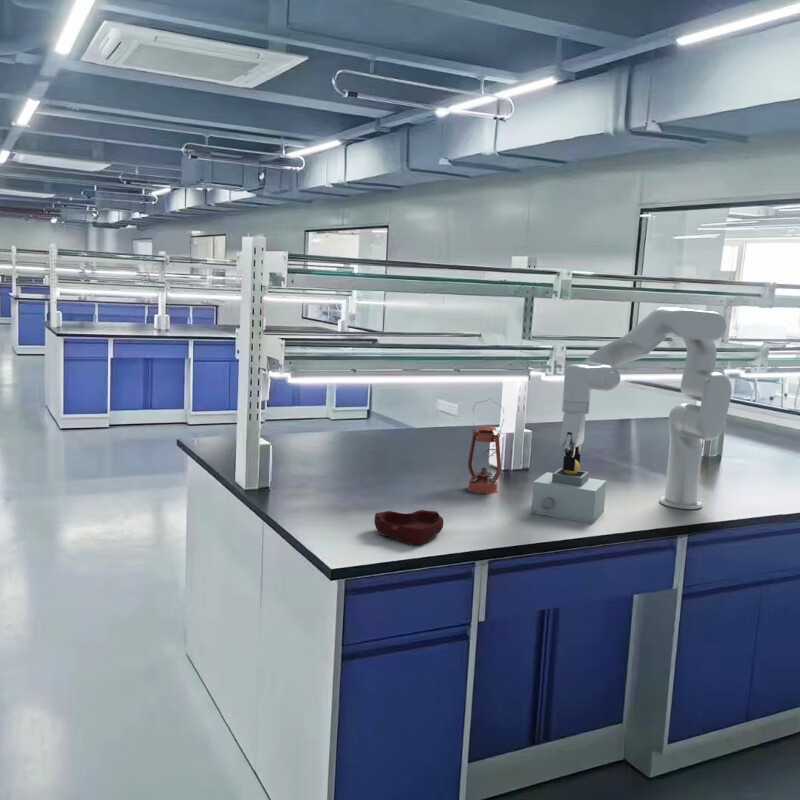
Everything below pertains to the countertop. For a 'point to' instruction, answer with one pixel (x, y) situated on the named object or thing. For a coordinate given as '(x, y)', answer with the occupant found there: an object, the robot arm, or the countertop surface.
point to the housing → (569, 496)
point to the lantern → (483, 479)
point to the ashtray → (409, 525)
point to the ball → (574, 469)
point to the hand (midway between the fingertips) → (571, 467)
